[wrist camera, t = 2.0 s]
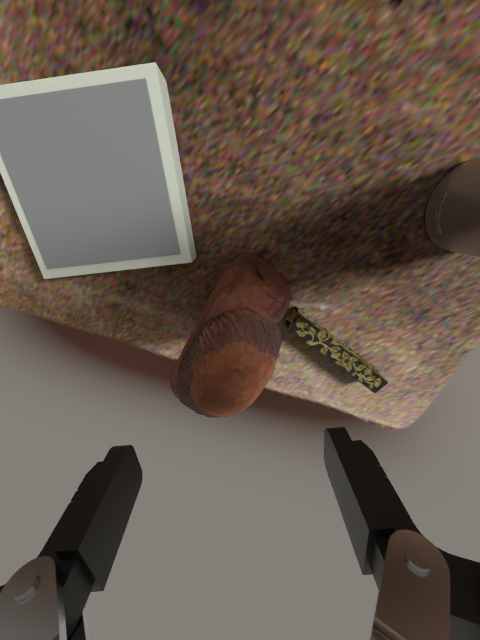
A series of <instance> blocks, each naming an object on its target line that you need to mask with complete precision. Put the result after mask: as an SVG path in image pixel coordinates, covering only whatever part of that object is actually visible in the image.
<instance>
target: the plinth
mask: <svg viewBox="0 0 480 640" xmlns="http://www.w3.org/2000/svg"><path fill="white" fill-rule="evenodd" d="M0 173H1V176H2V178H3V180H4V183H5V185H6V188H7V190H8V193H9V195H10V197H11V200H12V202H13V205H14V207H15V210H16V212H17V214H18V217H19V219H20V222H21V224H22V227H23V229H24V231H25V234H26V236H27V239H28V241H29V244H30V246H31V248H32V251H33V253H34V256H35V258H36V261H37V263H38V265H39V268H40V270H41V273H42V275H43V278H44V279H49V278H58V277H67V276H76V275H85V274H94V273H103V272H112V271H120V270H129V269H138V268H147V267H156V266H165V265H174V264H183V263H191V262H193V261H194V260H195V259H196V258H197V257H196V251H195V245H194V239H193V234H192V228H191V222H190V216H189V210H188V205H187V199H186V193H185V187H184V182H183V176H182V170H181V164H180V158H179V153H178V147H177V141H176V135H175V130H174V124H173V118H172V112H171V106H170V101H169V95H168V89H167V83H166V80H165V78H164V77H163V75H162V73H161V71H160V69H159V68H158V66H157V64H156V62H155V63H148V64H141V65H134V66H127V67H121V68H114V69H107V70H100V71H93V72H86V73H80V74H73V75H66V76H59V77H52V78H46V79H39V80H32V81H25V82H18V83H12V84H5V85H0Z"/></svg>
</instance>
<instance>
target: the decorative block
mask: <svg viewBox="0 0 480 640" xmlns="http://www.w3.org/2000/svg"><path fill="white" fill-rule="evenodd" d="M285 322H286V325H287V328H288V329H289V330H290V331H291V332H293V333H294V334H295V335H297V336H298V337H299V338H301V339H302V340H303V341H305V342H306V343H308V344H309V345H310V346H312V347H313V348H314V349H316V350H317V351H319V352H320V353H321V354H323V355H324V356H325V357H327V358H328V359H329V360H331V361H332V362H334V363H335V364H336V365H338V366H339V367H340V368H342V369H343V370H344V371H346V372H347V373H348V374H350V375H351V376H352V377H354V378H355V379H356V380H358V381H359V382H360V383H362V384H363V385H365V386H366V387H367V388H368V389H370V390H371V391H372V392H374V393H376V392H377V391H379V390H380V389H381V388H382V387H384V386H385V385H386V384H387V383H388V382H387V380H386V379H385V378H384V376H383V375H382V374H381V373H380V372H379V371H378V370H377V369H375V367H374V366H373V365H371V364H370V363H368V362H367V360H364V359H363V358H362V357H361V356H360V355H359V354H358V353H356V352H355V351H354V350H353V349H350V347H349V346H346V344H345V343H344V342H342V341H341V340H339V339H338V338H337V337H336V336H334V335H332V334H331V333H329V332H328V331H327V330H326V329H325V328H323V327H322V326H321V325H320V324H319V323H318V322H316V321H315V320H313V319H312V318H310V317H309V316H307V315H306V314H305V313H304V312H302V311H301V310H300V309H299V308H297V307H296V306H295V308H294V309H293V310H292V311H291V312H290V313H289V314H288V315H287V317H286V318H285Z"/></svg>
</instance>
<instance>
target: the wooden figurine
mask: <svg viewBox="0 0 480 640" xmlns="http://www.w3.org/2000/svg"><path fill="white" fill-rule="evenodd" d="M289 301H290V292H289V289H288V286H287V284H286V280H285V278H284V277H283V276H282V275H281V274H280V273H279V272H278V271H277V270H276V269H274V268H272V267H271V266H270V265H269V263H268V262H266V261H264V260H263V259H262V258H260V257H258V256H256V255H255V254H253V253H245V254H241V255H239V256H238V257H236V258H235V259H234V260H232V261H231V262H230V263H229V264H228V265H227V266H226V267H225V269H224V270H223V271H222V273H221V275H220V277H219V279H218V281H217V283H216V285H215V287H214V289H213V291H212V293H211V295H210V297H209V298H208V300H207V302H206V304H205V307H204V309H203V311H202V313H201V315H200V317H199V319H198V322H197V324H196V326H195V328H194V330H193V332H192V334H191V336H190V337H189V339H188V341H187V343H186V344H185V346H184V348H183V351H182V353H181V355H180V357H179V358H178V360H177V362H176V365H175V367H174V370H173V372H172V376H171V380H170V385H171V389H172V391H173V393H174V394H175V396H176V397H177V398H179V399H180V401H181V402H182V403H183V404H184V405H186V406H187V407H189V408H190V409H192V410H194V411H195V412H196V413H198V414H201V415H204V416H207V417H226V416H230V415H234V414H237V413H239V412H241V411H243V410H244V409H245V408H247V407H248V406H249V405H251V404H252V403H253V402H254V401H255V399H256V398H257V397H258V396H259V394H260V393H261V392H262V390H263V389H264V387H265V386H266V384H267V383H268V381H269V380H270V378H271V377H272V374H273V372H274V370H275V365H276V361H277V358H278V355H279V350H280V346H281V343H282V335H281V328H280V327H279V325H278V322H279V321H280V320H281V318H282V317H283V316H284V314H285V312H286V310H287V308H288V306H289Z"/></svg>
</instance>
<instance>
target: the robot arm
mask: <svg viewBox="0 0 480 640" xmlns="http://www.w3.org/2000/svg"><path fill="white" fill-rule="evenodd" d="M425 226H426V231H427V233H428V236H429V238H430V239H431V241H432V242H433V243H434V244H435V245H436V246H438V247H439V248H441V249H444V250H447V251H451V252H457V253H462V254H468V255H473V256H478V257H480V158H476V159H473V160H470V161H467V162H465V163H463V164H461V165H459V166H457V167H456V168H454V169H453V170H452V171H451V172H449V173H448V174H447V175H446V176H445V177H444V178H443V179H442V180H441V181H440V183H439V184H438V185H437V187H436V188H435V190H434V191H433V193H432V195H431V197H430V199H429V202H428V205H427V209H426V212H425ZM324 432H325V434H324V460H325V466H326V470H327V473H328V476H329V479H330V481H331V484H332V487H333V490H334V493H335V496H336V499H337V502H338V505H339V508H340V510H341V513H342V516H343V519H344V522H345V525H346V528H347V531H348V534H349V536H350V539H351V542H352V545H353V548H354V551H355V554H356V557H357V560H358V563H359V565H360V568H361V571H362V574H363V575H367V574H368V575H369V574H373V576H374V579H375V581H376V584H377V587H378V589H379V593H378V598H377V604H376V609H375V614H374V620H373V625H372V631H371V636H370V640H480V563H479V562H475V561H472V560H468V559H465V558H461V557H458V556H454V555H452V554H448V553H447V552H445V551H442V550H441V549H439V548H437V547H436V546H435V545H434V544H433V543H431V542H430V541H429V540H428V539H427V538H425V537H424V536H423V535H422V534H421V533H420V531H419V530H418V529H417V528H416V526H415V525H414V523H413V522H412V519H411V518H410V516H409V514H408V512H407V511H406V509H405V507H404V505H403V504H402V502H401V500H400V498H399V496H398V495H397V493H396V491H395V490H394V488H393V486H392V484H391V482H390V481H389V479H388V478H387V476H386V474H385V472H384V470H383V468H382V467H381V466H380V463H379V462H378V460H377V458H376V456H375V454H374V453H373V451H372V450H371V449H370V448H369V447H368V446H367V445H366V444H364V443H363V442H362V441H361V440H357V441H352V440H351V438H350V436H349V434H348V432H347V430H346V429H345V428H344V427H339V428H326V429H325V431H324ZM141 483H142V469H141V466H140V463H139V461H138V458H137V455H136V453H135V450H134V448H133V446H132V445H126V446H114V447H112V448H111V449H110V450H109V452H108V453H107V455H106V457H105V459H104V461H103V462H98V463H97V464H96V465H95V466H94V467H93V468H92V469H91V470H90V471H89V472H88V473H87V474H86V475H85V477H84V479H83V481H82V482H81V484H80V486H79V488H78V491H76V493H75V494H74V496H73V498H72V500H71V503H69V505H68V506H67V508H66V510H65V512H64V513H63V515H62V517H61V518H60V520H59V522H58V524H57V525H56V527H55V529H54V530H53V532H52V534H51V536H50V537H49V539H48V541H47V542H46V544H45V546H44V548H43V549H42V551H41V552H40V554H39V556H38V557H37V558H35V559H33V560H31V561H29V562H28V563H26V564H25V565H23V566H22V567H21V568H20V569H19V570H18V571H17V572H16V573H15V574H14V575H13V576H12V577H11V578H10V579H9V581H8V582H7V583H6V584H5V585H3V586H0V640H91V639H90V633H89V624H88V617H87V610H86V607H85V604H86V602H87V599H88V596H89V594H90V592H95V591H103V590H104V588H105V585H106V582H107V579H108V576H109V573H110V571H111V568H112V565H113V562H114V560H115V557H116V554H117V551H118V548H119V546H120V543H121V540H122V537H123V534H124V532H125V528H126V526H127V523H128V520H129V517H130V514H131V512H132V509H133V506H134V504H135V500H136V498H137V495H138V492H139V489H140V486H141Z"/></svg>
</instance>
